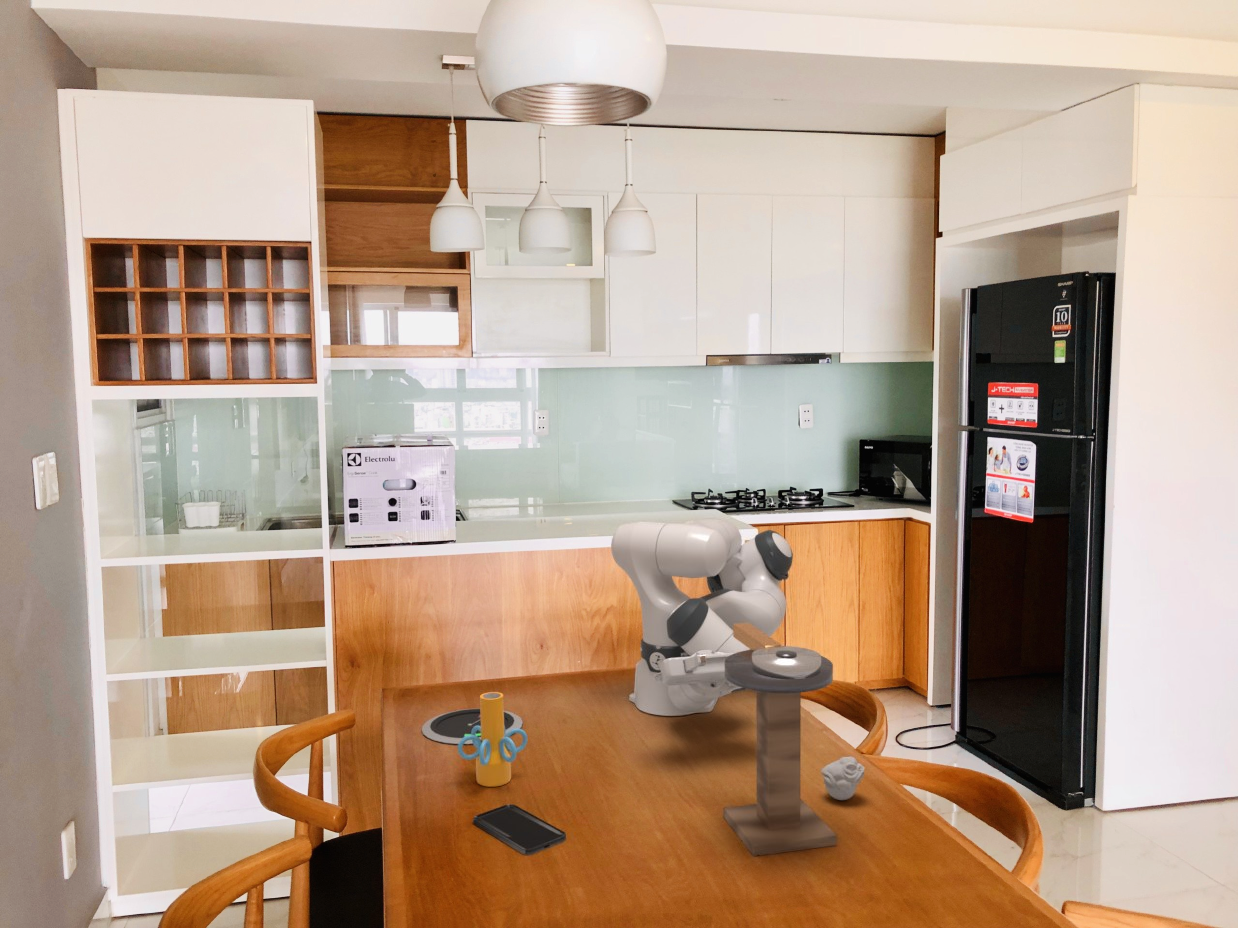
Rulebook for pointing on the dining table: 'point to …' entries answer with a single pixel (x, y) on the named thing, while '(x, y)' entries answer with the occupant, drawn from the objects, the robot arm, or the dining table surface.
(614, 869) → the dining table surface
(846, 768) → the frog figurine
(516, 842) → the phone
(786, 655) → the cover
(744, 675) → the pedestal
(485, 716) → the cylinder
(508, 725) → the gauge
